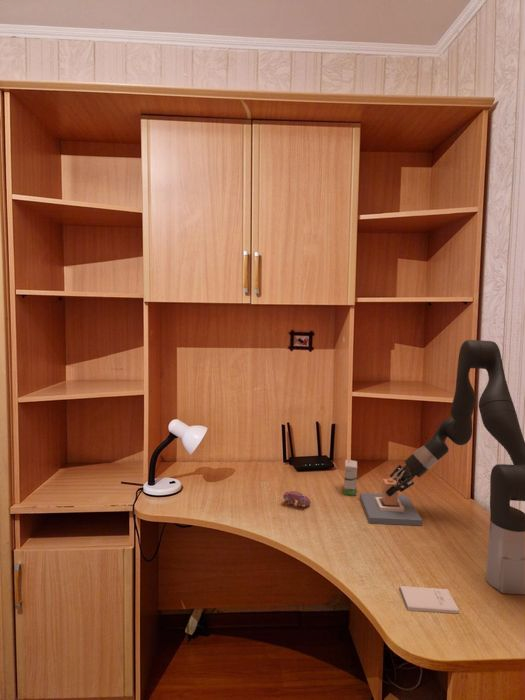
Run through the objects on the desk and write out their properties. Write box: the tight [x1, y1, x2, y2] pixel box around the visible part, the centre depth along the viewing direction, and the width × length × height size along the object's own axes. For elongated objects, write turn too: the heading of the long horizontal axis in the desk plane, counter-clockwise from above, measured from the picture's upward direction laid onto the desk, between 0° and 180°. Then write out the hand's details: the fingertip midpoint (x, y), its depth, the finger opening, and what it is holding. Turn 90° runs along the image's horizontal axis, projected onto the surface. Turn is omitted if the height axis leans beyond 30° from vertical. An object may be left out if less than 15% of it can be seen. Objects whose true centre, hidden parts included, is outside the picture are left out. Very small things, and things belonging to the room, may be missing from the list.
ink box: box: [343, 459, 358, 497], centre depth 174 cm, size 9×5×12 cm, turn 168°
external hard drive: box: [398, 585, 460, 614], centre depth 110 cm, size 2×8×12 cm
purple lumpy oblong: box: [282, 490, 311, 508], centre depth 161 cm, size 10×5×7 cm, turn 63°
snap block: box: [381, 477, 399, 505], centre depth 157 cm, size 4×4×9 cm
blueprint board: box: [359, 492, 423, 527], centre depth 158 cm, size 20×18×3 cm
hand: (386, 491), depth 157 cm, fingers closed on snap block, 4 cm apart
